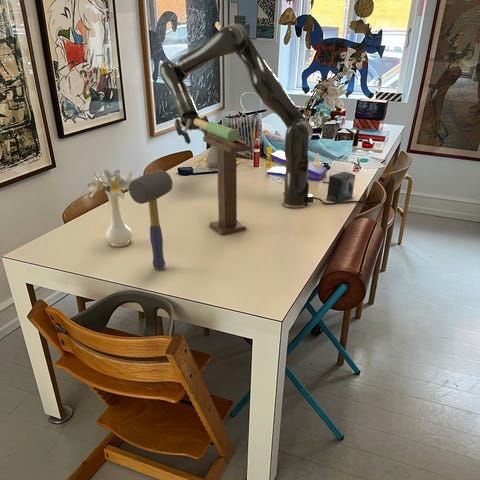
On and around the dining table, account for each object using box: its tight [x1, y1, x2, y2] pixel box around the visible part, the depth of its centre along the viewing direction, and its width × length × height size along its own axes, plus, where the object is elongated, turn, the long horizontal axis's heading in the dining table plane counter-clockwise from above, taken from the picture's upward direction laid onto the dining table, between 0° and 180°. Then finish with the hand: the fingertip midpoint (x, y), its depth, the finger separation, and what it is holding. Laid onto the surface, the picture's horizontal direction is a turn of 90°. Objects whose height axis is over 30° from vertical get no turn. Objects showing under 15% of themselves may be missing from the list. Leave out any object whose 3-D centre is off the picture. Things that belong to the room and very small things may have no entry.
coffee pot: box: [205, 138, 246, 169], centre depth 248 cm, size 21×12×15 cm, turn 68°
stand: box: [202, 133, 252, 236], centre depth 172 cm, size 20×10×32 cm, turn 30°
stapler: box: [266, 149, 328, 182], centre depth 237 cm, size 12×28×10 cm, turn 63°
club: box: [194, 119, 239, 142], centre depth 169 cm, size 28×4×4 cm, turn 30°
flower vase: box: [87, 169, 136, 248], centre depth 162 cm, size 13×18×25 cm
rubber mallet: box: [128, 169, 173, 271], centre depth 144 cm, size 12×8×30 cm, turn 150°
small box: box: [326, 171, 356, 203], centre depth 206 cm, size 11×6×10 cm, turn 131°
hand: (199, 141), depth 193 cm, fingers open, 8 cm apart
